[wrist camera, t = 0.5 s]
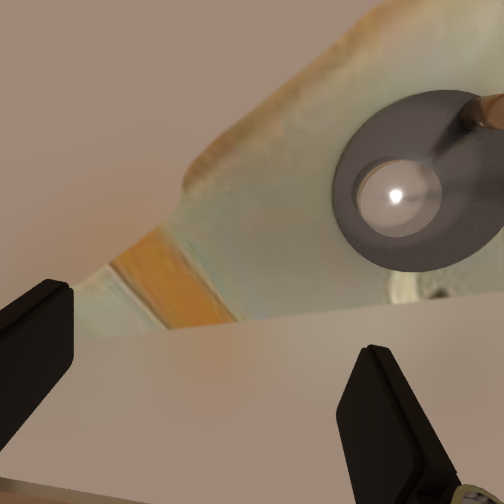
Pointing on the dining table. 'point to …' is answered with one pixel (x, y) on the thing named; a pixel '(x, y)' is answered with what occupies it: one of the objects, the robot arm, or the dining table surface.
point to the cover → (396, 196)
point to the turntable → (443, 165)
